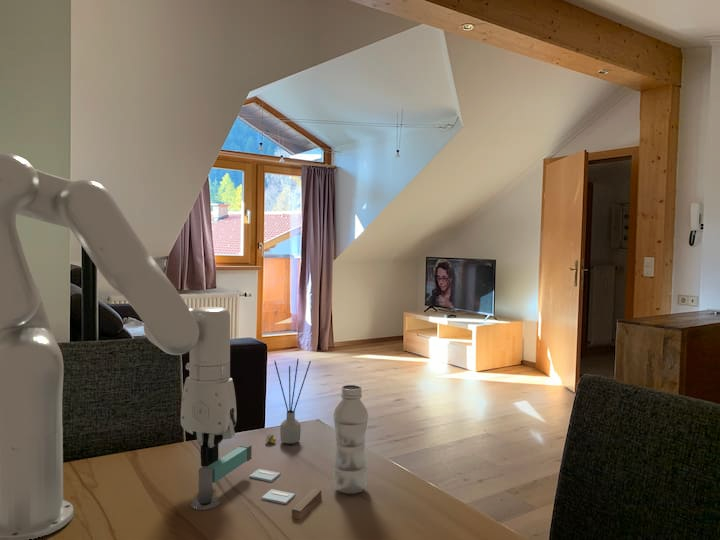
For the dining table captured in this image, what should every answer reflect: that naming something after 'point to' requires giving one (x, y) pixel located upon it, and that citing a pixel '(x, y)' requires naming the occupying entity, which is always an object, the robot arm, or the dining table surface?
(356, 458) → the plastic bottle
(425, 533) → the dining table surface
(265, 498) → the label cards
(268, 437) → the reed diffuser
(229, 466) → the boom bar
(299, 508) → the sill
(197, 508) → the pivot plate
